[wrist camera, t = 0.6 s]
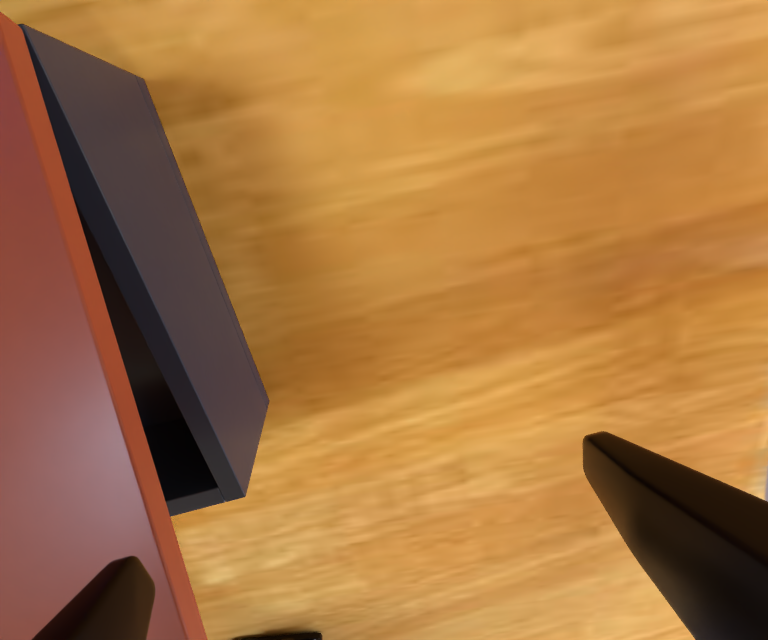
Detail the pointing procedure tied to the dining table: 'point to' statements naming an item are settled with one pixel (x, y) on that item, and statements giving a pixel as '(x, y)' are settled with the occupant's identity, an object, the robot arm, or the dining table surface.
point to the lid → (65, 396)
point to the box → (155, 278)
